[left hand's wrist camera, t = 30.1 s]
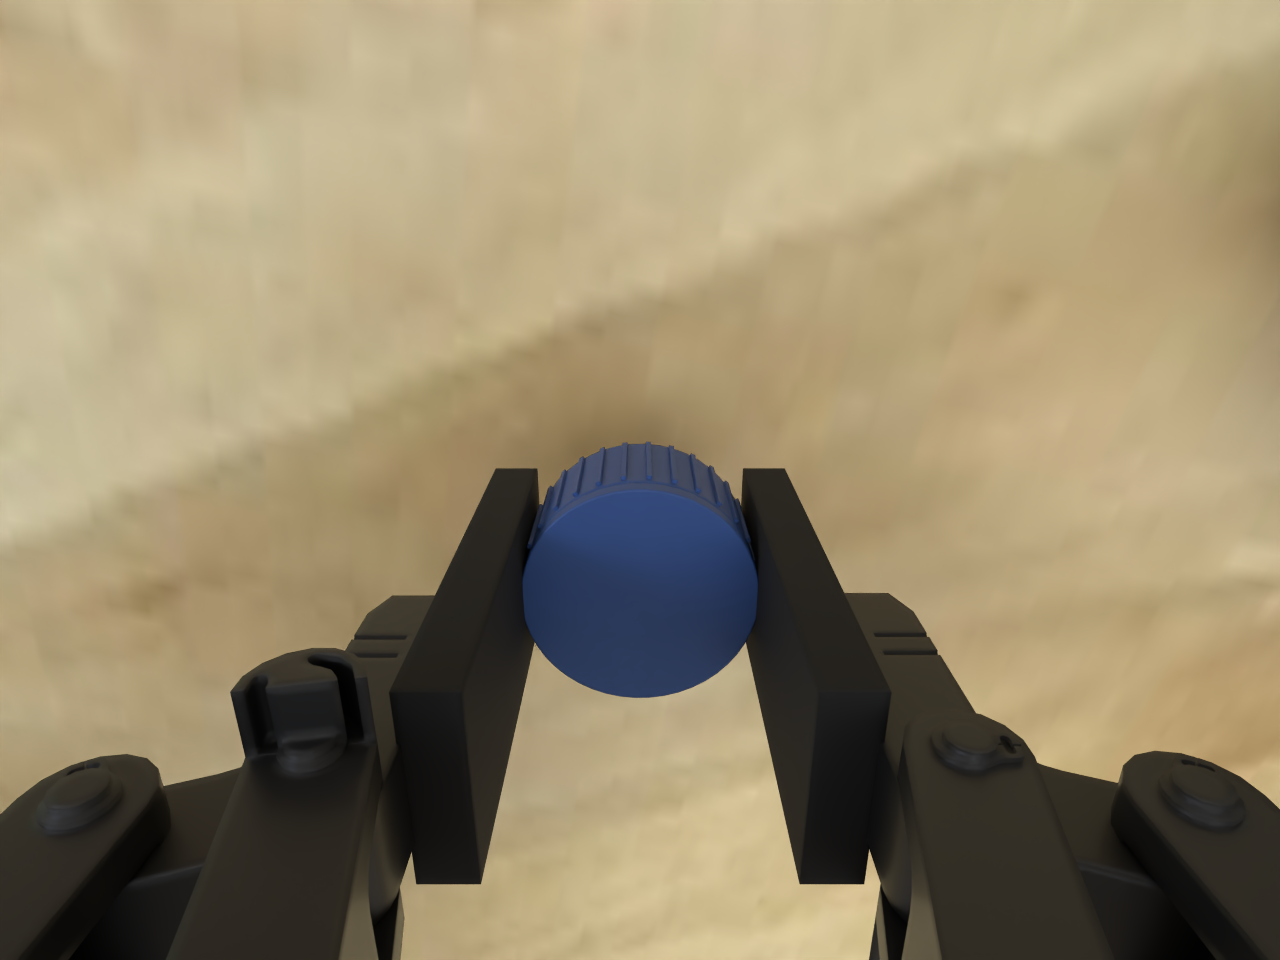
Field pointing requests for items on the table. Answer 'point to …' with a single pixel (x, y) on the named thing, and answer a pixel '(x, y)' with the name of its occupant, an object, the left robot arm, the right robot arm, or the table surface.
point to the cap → (640, 572)
